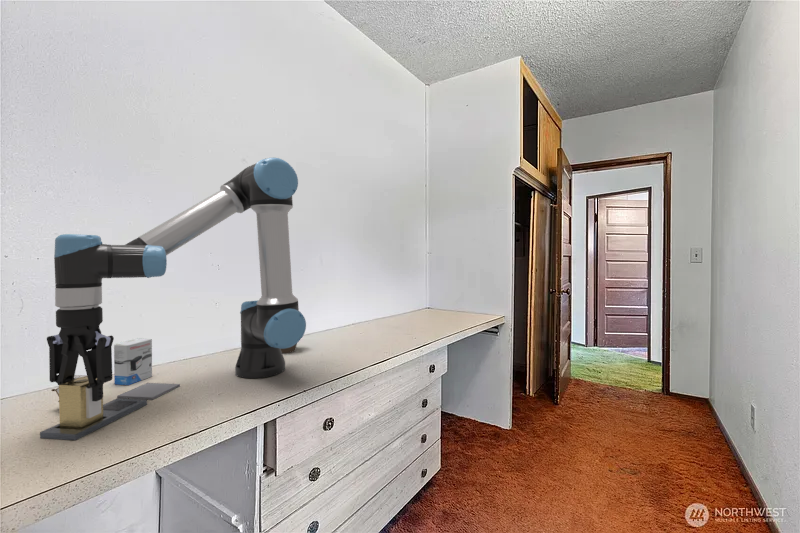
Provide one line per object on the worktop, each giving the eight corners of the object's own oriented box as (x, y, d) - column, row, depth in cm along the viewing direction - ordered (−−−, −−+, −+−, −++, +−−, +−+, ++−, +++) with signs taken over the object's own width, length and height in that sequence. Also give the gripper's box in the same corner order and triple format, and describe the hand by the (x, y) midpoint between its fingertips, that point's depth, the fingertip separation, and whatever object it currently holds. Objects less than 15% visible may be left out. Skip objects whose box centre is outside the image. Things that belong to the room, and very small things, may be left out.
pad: (179, 386, 104) (179, 384, 104) (152, 399, 94) (152, 397, 94) (147, 384, 105) (147, 382, 105) (117, 397, 96) (117, 395, 96)
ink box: (127, 385, 105) (127, 344, 104) (113, 384, 106) (112, 344, 105) (153, 376, 113) (152, 338, 113) (140, 375, 114) (139, 337, 114)
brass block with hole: (103, 422, 81) (102, 377, 81) (81, 433, 76) (80, 385, 76) (82, 421, 82) (82, 376, 81) (59, 432, 77) (58, 384, 76)
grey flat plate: (146, 404, 91) (146, 399, 91) (75, 440, 73) (75, 434, 73) (117, 403, 92) (117, 398, 92) (40, 438, 74) (40, 431, 74)
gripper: (133, 305, 81) (134, 409, 82) (60, 304, 83) (62, 405, 84) (101, 310, 74) (104, 424, 74) (22, 308, 76) (25, 420, 76)
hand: (81, 414), depth 79 cm, fingers closed on brass block with hole, 5 cm apart
